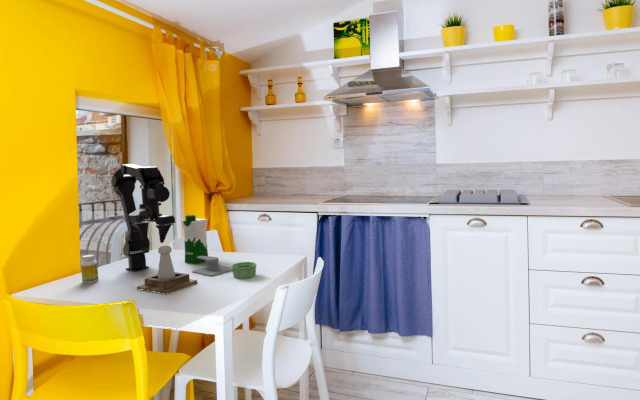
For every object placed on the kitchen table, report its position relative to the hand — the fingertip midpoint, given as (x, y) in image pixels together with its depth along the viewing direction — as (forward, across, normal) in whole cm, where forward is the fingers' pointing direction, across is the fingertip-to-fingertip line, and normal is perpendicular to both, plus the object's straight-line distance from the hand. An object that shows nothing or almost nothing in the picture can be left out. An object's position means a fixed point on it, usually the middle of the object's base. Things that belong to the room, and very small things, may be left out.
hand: (153, 242), depth 172 cm
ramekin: (+13, +32, +13) cm, 37 cm away
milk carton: (+13, -2, +24) cm, 27 cm away
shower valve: (+14, +14, +15) cm, 25 cm away
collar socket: (+13, +15, -8) cm, 21 cm away
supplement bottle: (+13, -17, -15) cm, 26 cm away
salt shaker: (+12, +15, -8) cm, 21 cm away
